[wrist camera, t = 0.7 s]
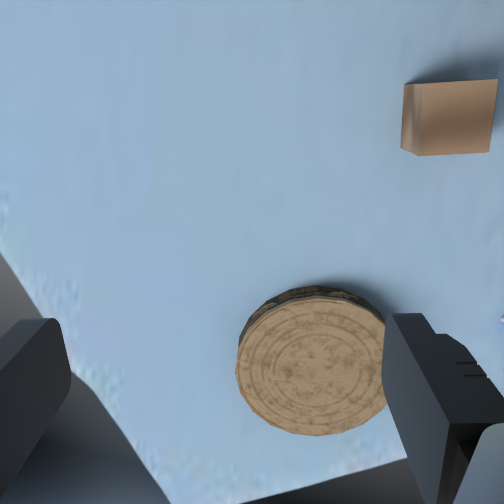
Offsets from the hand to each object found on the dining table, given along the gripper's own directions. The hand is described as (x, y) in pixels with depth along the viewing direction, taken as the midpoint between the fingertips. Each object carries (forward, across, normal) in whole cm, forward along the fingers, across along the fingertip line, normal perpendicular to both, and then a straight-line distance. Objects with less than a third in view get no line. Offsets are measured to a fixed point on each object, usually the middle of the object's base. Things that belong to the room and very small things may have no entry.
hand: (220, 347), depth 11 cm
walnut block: (+29, -15, -3) cm, 32 cm away
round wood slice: (+29, -5, +20) cm, 36 cm away
